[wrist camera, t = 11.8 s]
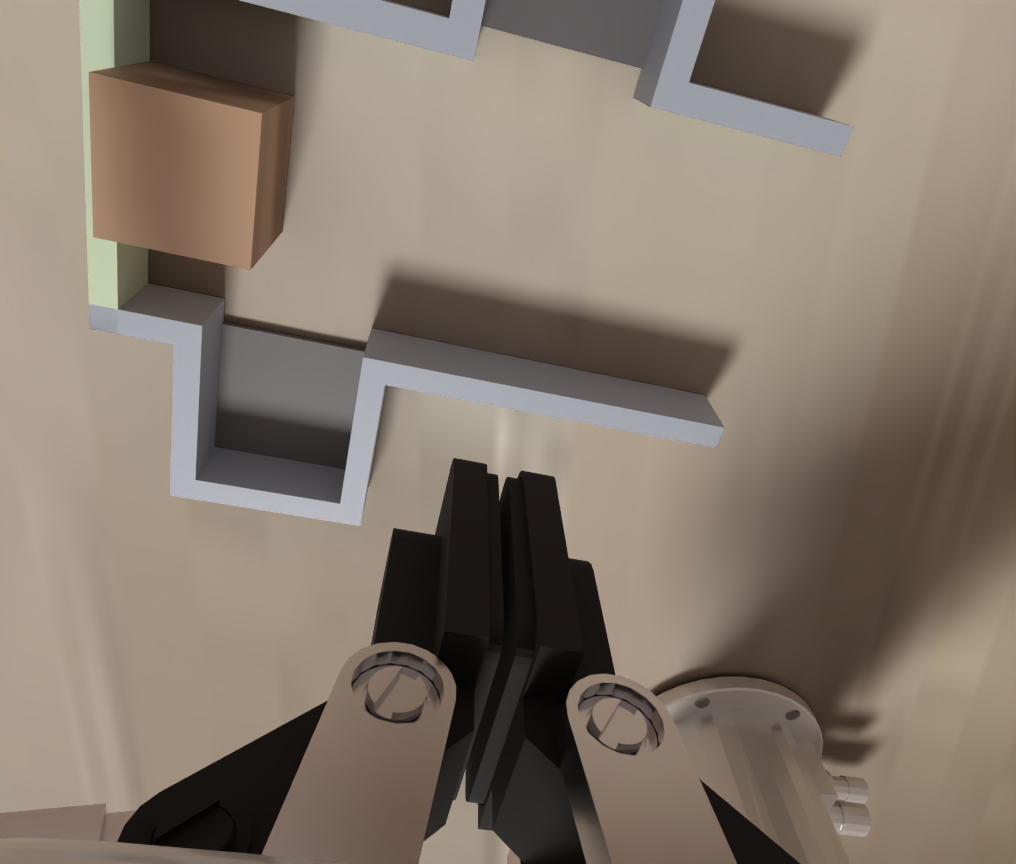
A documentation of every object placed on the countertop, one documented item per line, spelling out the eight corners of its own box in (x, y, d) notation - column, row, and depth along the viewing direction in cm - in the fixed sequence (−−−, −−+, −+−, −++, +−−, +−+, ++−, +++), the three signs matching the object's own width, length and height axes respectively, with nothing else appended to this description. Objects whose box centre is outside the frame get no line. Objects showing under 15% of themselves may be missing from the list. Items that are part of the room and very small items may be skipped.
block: (295, 96, 27) (262, 113, 23) (282, 231, 30) (250, 270, 25) (151, 60, 27) (88, 71, 22) (150, 202, 29) (93, 237, 25)
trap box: (908, -106, 25) (959, -119, 22) (648, 534, 38) (661, 574, 35) (115, -363, 21) (65, -415, 19) (123, 446, 34) (94, 483, 31)
